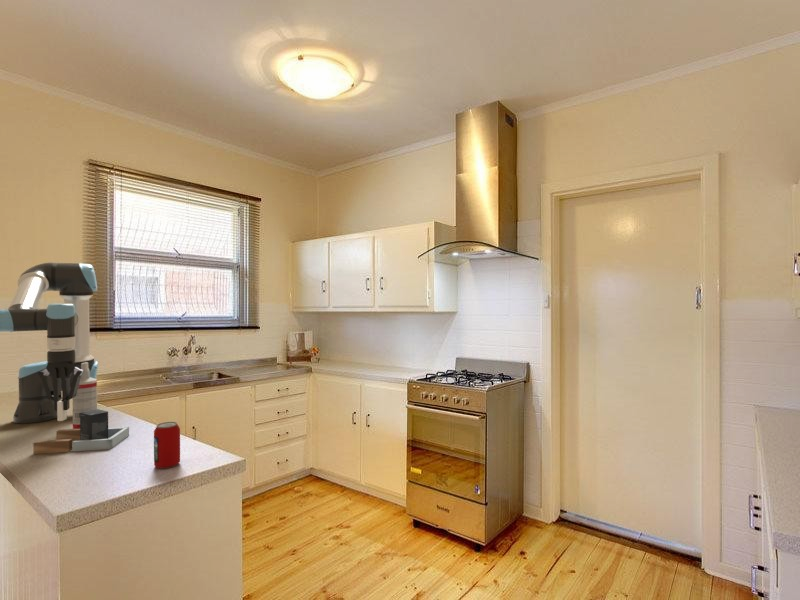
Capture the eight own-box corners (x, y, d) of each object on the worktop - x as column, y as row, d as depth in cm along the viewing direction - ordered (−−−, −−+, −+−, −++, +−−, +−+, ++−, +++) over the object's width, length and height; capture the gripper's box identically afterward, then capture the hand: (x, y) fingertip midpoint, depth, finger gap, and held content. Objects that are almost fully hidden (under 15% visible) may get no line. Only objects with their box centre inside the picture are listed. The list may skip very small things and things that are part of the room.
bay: (94, 437, 158) (94, 429, 158) (129, 435, 160) (129, 427, 160) (72, 451, 143) (72, 441, 143) (110, 448, 145) (110, 439, 145)
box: (108, 442, 152) (108, 411, 152) (90, 446, 148) (89, 414, 148) (98, 438, 157) (97, 408, 157) (79, 442, 152) (79, 411, 152)
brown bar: (59, 439, 156) (59, 429, 156) (91, 437, 157) (91, 427, 157) (33, 454, 141) (33, 442, 141) (69, 451, 143) (69, 440, 143)
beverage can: (160, 461, 133) (160, 421, 133) (184, 460, 133) (183, 420, 133) (149, 470, 126) (149, 427, 126) (174, 469, 126) (174, 427, 127)
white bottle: (96, 429, 168) (96, 363, 168) (72, 432, 164) (71, 364, 164) (97, 424, 174) (97, 360, 175) (74, 427, 171) (73, 362, 171)
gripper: (32, 351, 144) (33, 424, 145) (77, 350, 147) (78, 422, 147) (45, 348, 152) (46, 417, 152) (88, 347, 154) (89, 415, 155)
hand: (62, 419), depth 150 cm, fingers closed
